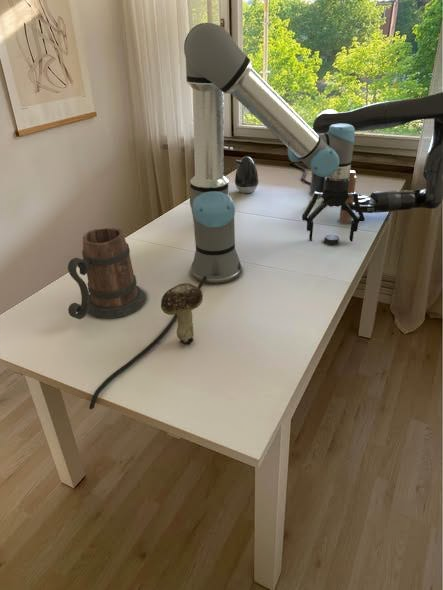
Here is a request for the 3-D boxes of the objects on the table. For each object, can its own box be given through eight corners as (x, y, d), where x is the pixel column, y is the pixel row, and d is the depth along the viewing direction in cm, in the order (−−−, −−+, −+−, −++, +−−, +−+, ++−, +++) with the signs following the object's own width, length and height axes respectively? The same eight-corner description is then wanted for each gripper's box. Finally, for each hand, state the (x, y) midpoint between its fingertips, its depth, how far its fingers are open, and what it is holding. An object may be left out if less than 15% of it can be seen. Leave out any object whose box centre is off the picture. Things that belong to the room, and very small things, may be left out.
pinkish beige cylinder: (352, 221, 164) (359, 171, 154) (346, 224, 162) (352, 174, 152) (343, 218, 167) (349, 169, 157) (336, 221, 165) (342, 171, 155)
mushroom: (205, 329, 111) (202, 278, 102) (206, 352, 103) (202, 298, 95) (168, 331, 110) (161, 279, 102) (165, 354, 103) (158, 300, 95)
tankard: (113, 279, 133) (101, 217, 123) (158, 293, 126) (149, 228, 115) (52, 320, 116) (32, 252, 106) (99, 339, 109) (83, 267, 98)
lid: (321, 241, 151) (322, 236, 150) (332, 238, 153) (333, 233, 151) (330, 246, 147) (330, 241, 146) (341, 243, 149) (341, 238, 148)
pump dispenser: (230, 190, 197) (229, 155, 189) (251, 186, 201) (251, 151, 193) (241, 196, 189) (240, 161, 181) (262, 192, 193) (263, 157, 185)
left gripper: (297, 181, 136) (293, 243, 148) (380, 181, 133) (370, 245, 145) (296, 173, 143) (293, 234, 154) (376, 173, 140) (366, 235, 151)
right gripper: (378, 185, 166) (334, 188, 165) (395, 198, 154) (347, 201, 153) (375, 204, 170) (332, 207, 169) (391, 218, 158) (344, 222, 157)
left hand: (330, 239), depth 149 cm, fingers open, 13 cm apart
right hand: (339, 204), depth 161 cm, fingers closed on pinkish beige cylinder, 4 cm apart
